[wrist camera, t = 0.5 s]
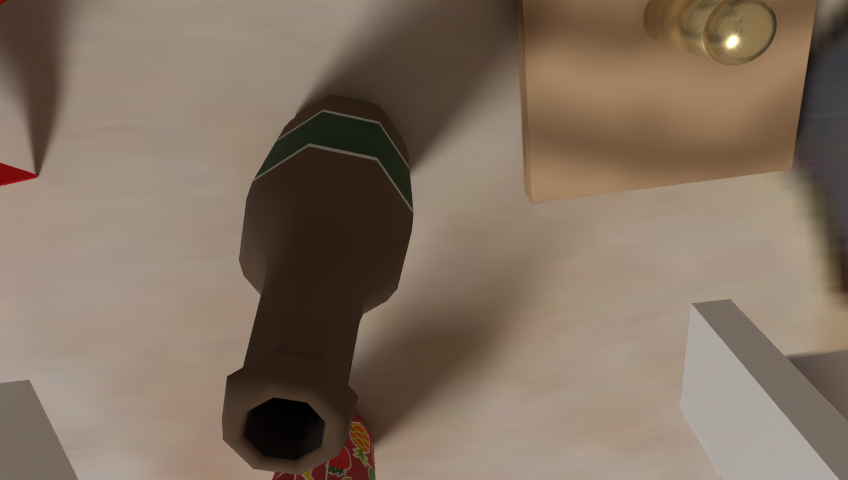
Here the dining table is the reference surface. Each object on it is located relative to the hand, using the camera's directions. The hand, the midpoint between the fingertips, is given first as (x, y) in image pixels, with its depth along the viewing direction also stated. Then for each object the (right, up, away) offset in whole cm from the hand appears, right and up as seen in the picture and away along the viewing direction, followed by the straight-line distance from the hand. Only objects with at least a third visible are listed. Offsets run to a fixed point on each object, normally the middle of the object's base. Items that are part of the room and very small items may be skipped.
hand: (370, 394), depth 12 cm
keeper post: (+14, +15, +21) cm, 30 cm away
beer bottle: (-4, +9, +25) cm, 27 cm away
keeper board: (+14, +16, +22) cm, 31 cm away
